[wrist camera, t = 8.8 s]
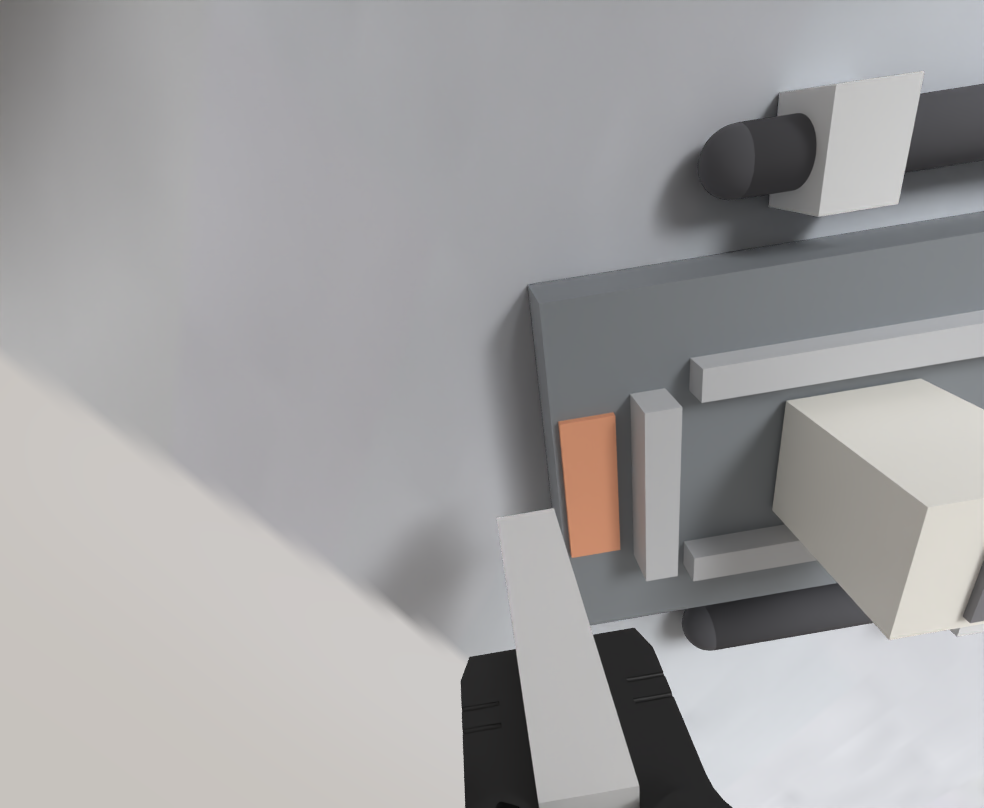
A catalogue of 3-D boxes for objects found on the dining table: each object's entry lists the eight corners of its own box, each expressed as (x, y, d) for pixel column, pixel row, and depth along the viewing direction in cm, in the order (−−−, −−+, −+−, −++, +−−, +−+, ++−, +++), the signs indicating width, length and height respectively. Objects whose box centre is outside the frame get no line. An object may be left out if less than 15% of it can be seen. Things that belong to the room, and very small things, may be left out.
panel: (527, 284, 15) (547, 317, 12) (1327, 156, 16) (1525, 159, 13) (560, 586, 21) (579, 657, 18) (1154, 485, 21) (1266, 539, 18)
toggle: (786, 400, 15) (936, 513, 11) (920, 378, 15) (1128, 480, 11) (772, 509, 17) (895, 646, 12) (892, 489, 17) (1059, 618, 13)
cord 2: (675, 587, 21) (699, 632, 19) (1033, 526, 21) (1092, 564, 20) (674, 634, 23) (696, 681, 21) (1012, 576, 23) (1066, 618, 21)
